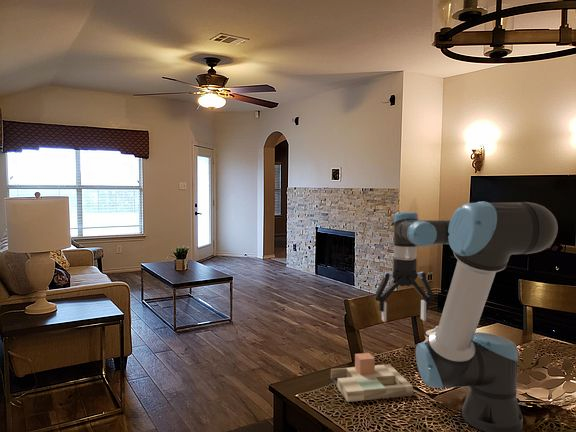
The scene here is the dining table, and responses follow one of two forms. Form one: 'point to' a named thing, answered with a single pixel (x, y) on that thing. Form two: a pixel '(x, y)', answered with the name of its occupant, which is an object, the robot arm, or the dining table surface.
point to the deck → (371, 383)
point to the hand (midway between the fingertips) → (403, 320)
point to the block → (365, 363)
